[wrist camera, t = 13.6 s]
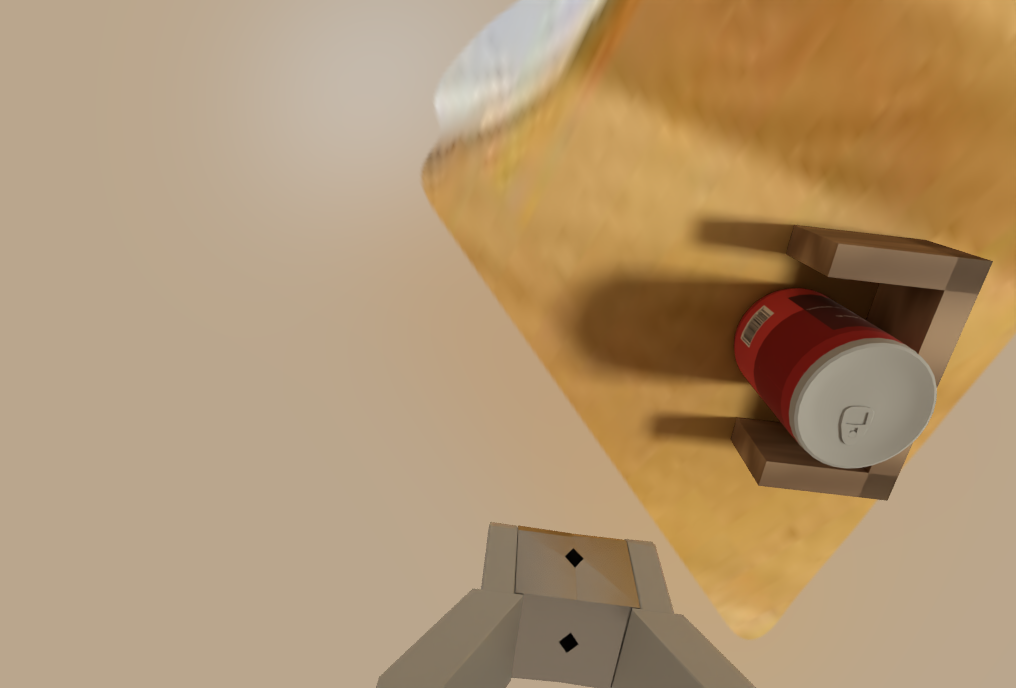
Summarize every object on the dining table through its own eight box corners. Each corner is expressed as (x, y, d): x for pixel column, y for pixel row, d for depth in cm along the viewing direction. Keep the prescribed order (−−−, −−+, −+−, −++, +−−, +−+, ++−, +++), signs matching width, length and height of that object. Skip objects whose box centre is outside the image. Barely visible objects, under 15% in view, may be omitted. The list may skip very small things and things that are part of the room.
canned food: (735, 394, 43) (797, 480, 33) (724, 297, 40) (789, 358, 30) (839, 375, 42) (936, 457, 32) (836, 273, 39) (942, 328, 29)
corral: (794, 224, 38) (838, 243, 33) (926, 240, 38) (992, 261, 33) (730, 439, 45) (758, 485, 39) (843, 452, 45) (887, 500, 39)
